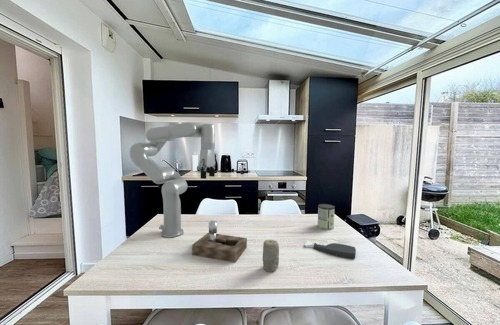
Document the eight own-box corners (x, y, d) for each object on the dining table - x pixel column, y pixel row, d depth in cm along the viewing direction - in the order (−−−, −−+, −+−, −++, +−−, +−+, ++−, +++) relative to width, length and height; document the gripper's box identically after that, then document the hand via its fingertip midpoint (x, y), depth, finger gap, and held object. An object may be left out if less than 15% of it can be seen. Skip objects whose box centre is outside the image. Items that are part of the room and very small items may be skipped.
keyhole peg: (205, 251, 113) (205, 223, 112) (210, 246, 118) (210, 220, 117) (215, 253, 111) (215, 224, 110) (220, 248, 117) (220, 221, 116)
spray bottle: (355, 261, 106) (302, 250, 117) (355, 251, 116) (307, 242, 127) (355, 255, 106) (302, 244, 117) (356, 245, 116) (307, 237, 127)
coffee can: (319, 223, 157) (320, 203, 156) (335, 226, 151) (336, 205, 150) (315, 227, 148) (316, 206, 147) (331, 231, 143) (332, 208, 142)
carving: (259, 269, 97) (259, 241, 96) (270, 263, 103) (271, 236, 102) (270, 275, 93) (271, 246, 92) (281, 268, 98) (282, 241, 97)
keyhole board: (192, 254, 109) (192, 244, 109) (208, 241, 124) (208, 232, 124) (235, 262, 103) (235, 251, 102) (246, 247, 118) (246, 238, 117)
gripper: (209, 146, 136) (209, 175, 137) (193, 146, 119) (193, 179, 120) (220, 146, 133) (220, 175, 135) (206, 146, 117) (206, 179, 118)
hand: (207, 177), depth 128 cm, fingers open, 9 cm apart
